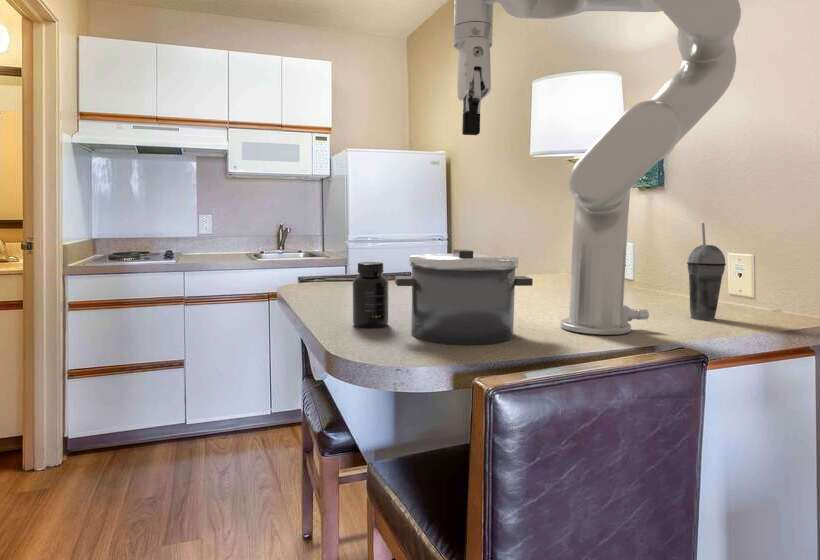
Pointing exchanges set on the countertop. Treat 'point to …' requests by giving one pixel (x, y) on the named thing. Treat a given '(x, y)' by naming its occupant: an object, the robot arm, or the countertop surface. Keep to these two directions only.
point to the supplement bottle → (370, 296)
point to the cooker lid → (463, 261)
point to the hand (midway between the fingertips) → (471, 134)
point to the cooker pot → (463, 305)
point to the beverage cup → (705, 279)
